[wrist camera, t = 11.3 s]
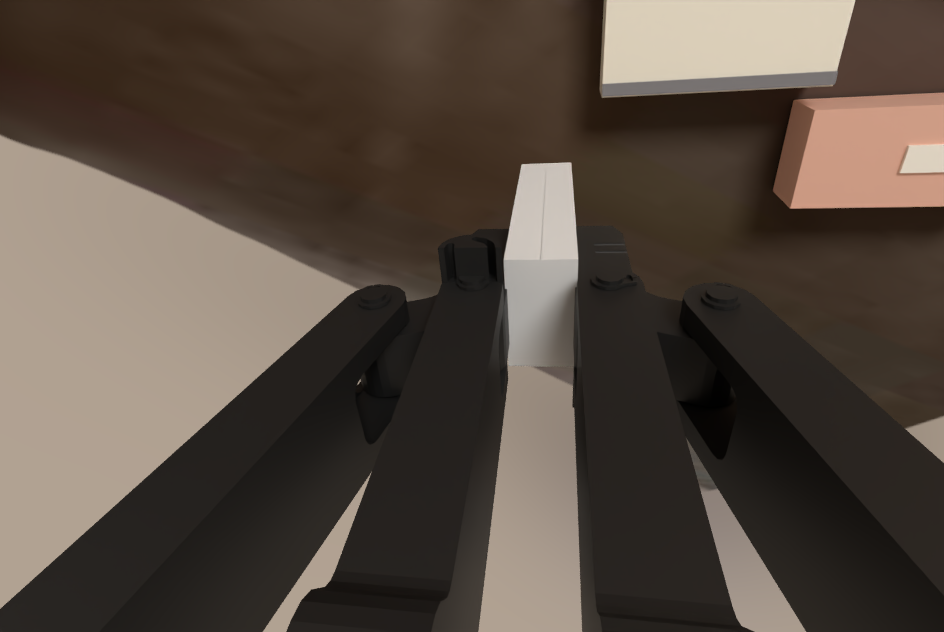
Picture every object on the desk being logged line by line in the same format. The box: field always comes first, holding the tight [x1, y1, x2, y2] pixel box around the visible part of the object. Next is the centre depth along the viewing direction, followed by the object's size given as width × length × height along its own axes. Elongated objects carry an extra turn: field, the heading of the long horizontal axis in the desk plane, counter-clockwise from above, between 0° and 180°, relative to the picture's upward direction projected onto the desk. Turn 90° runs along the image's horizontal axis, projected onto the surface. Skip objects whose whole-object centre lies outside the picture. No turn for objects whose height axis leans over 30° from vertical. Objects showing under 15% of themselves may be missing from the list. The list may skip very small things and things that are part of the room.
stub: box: [773, 93, 944, 209], centre depth 32 cm, size 13×6×4 cm, turn 94°
